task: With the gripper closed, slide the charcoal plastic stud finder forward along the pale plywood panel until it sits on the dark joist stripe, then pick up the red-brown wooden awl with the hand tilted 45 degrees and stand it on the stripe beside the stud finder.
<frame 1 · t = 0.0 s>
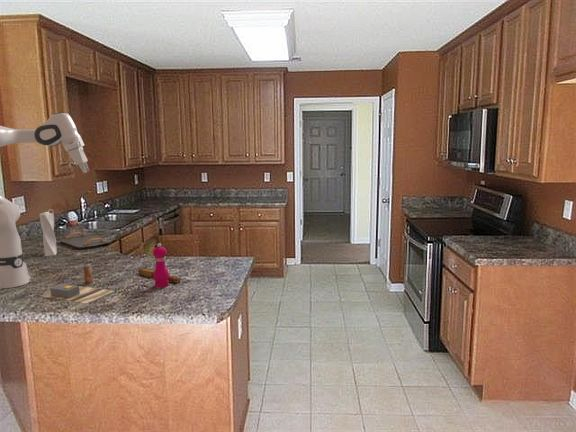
hand: (86, 172, 215), 52 cm above the countertop, tool tilted 20°, fingers open, 8 cm apart
skyscraper: (51, 255, 267), on the countertop
stud finder: (65, 294, 191), point 1 cm above the countertop, touching subfloor panel
tap handle: (158, 278, 217), on the countertop
serving board: (85, 244, 296), on the countertop
subfloor panel: (78, 296, 193), on the countertop
awl: (89, 285, 207), on the countertop
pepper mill: (162, 285, 205), on the countertop
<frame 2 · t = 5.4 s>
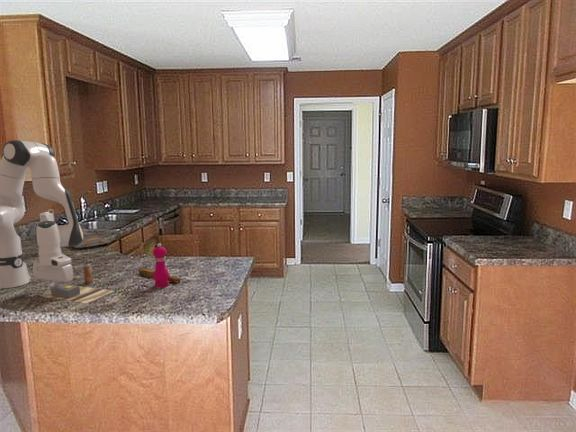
hand: (54, 289, 193), 3 cm above the countertop, tool pointing down, fingers closed
stud finder: (65, 294, 191), point 1 cm above the countertop, touching gripper
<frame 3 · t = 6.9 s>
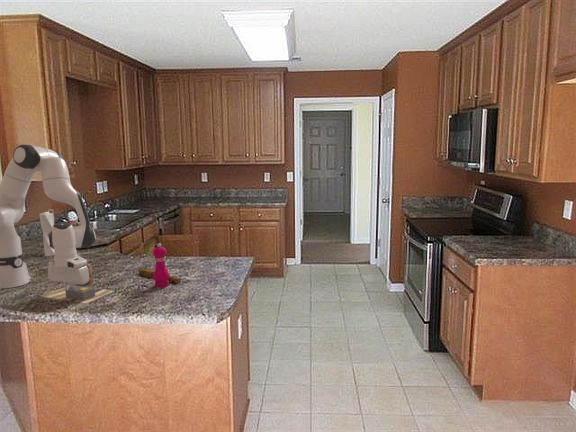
hand: (69, 291, 190), 3 cm above the countertop, tool pointing down, fingers closed
stud finder: (80, 297, 188), point 1 cm above the countertop, touching gripper, subfloor panel
everything else where it was.
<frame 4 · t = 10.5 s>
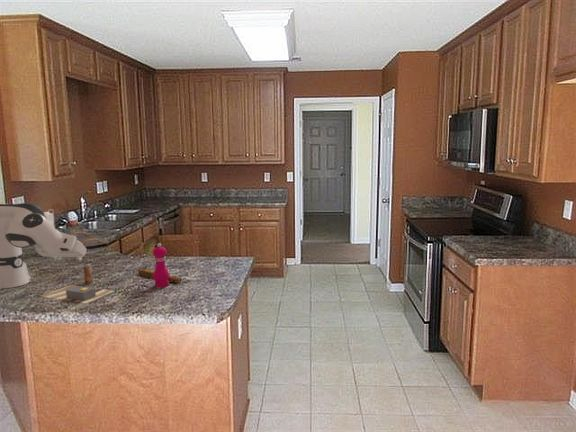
hand: (69, 259, 192), 16 cm above the countertop, tool tilted 45°, fingers open, 8 cm apart
stud finder: (81, 297, 188), point 1 cm above the countertop, touching subfloor panel
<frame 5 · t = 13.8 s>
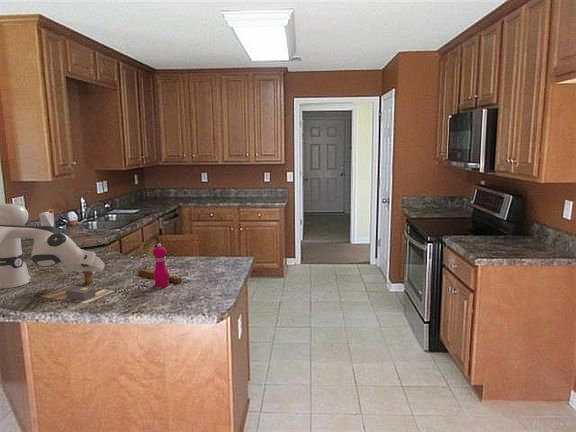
hand: (88, 273, 207), 6 cm above the countertop, tool tilted 45°, fingers closed on awl, 3 cm apart
awl: (89, 285, 207), on the countertop, touching gripper
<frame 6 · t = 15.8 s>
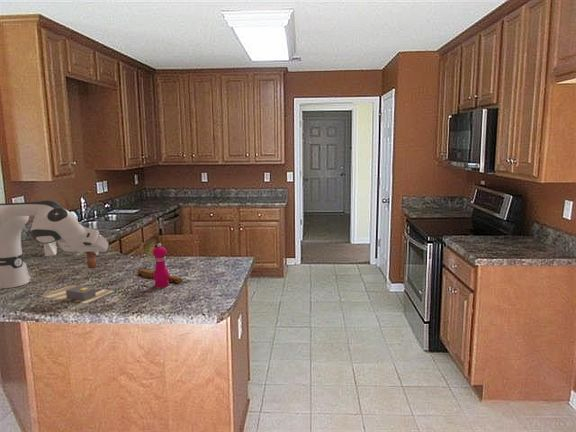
hand: (91, 254, 194), 18 cm above the countertop, tool tilted 45°, fingers closed on awl, 3 cm apart
awl: (92, 267, 195), point 12 cm above the countertop, touching gripper
when the fingers open (9 cm above the countertop, at t = 18.0 s): awl drops 1 cm, resting on subfloor panel.
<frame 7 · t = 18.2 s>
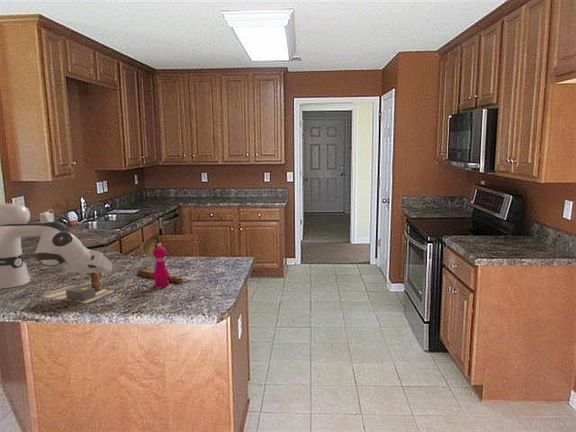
hand: (95, 274, 195), 9 cm above the countertop, tool tilted 45°, fingers open, 5 cm apart
awl: (96, 290, 196), point 1 cm above the countertop, touching subfloor panel
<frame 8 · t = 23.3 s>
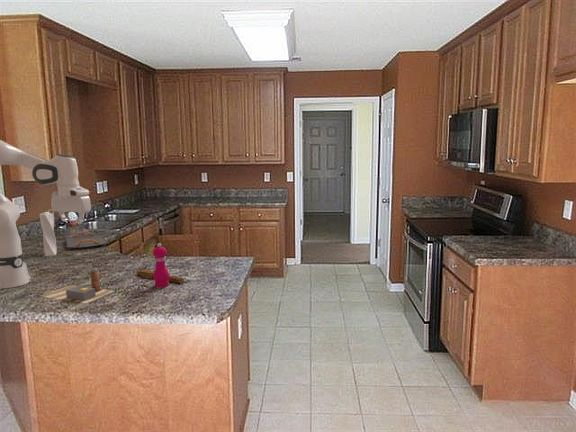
hand: (72, 221, 199), 31 cm above the countertop, tool pointing down, fingers open, 8 cm apart
at the end: awl inside the target area (0.2 cm from its centre), point 1.2 cm above the countertop; awl tilted 0°; stud finder inside the target area (1.0 cm from its centre), point 1.2 cm above the countertop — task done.
